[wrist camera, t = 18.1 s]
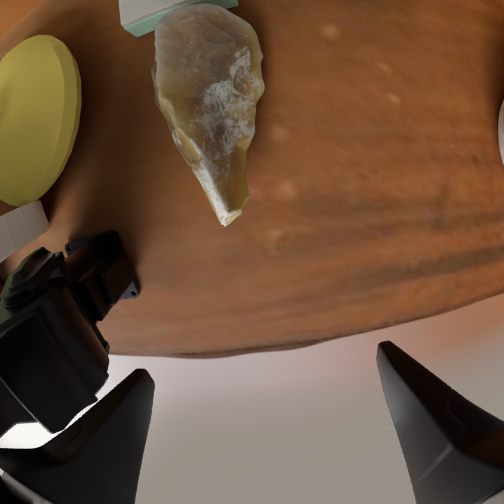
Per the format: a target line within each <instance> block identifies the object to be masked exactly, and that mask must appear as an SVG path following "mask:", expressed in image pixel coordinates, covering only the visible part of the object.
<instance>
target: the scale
mask: <svg viewBox="0 0 504 504" xmlns="http://www.w3.org/2000/svg"><path fill="white" fill-rule="evenodd" d="M207 3H208V4H213V5H218V6H221V7H223V8H225V9H227V8H232V7H237V6H239V4H238V0H119V9H120V18H121V25H122V26H123V27H124V29H125V30H126V31H128V32H130V33H131V34H133V35H135V36H136V37H139V36H142V35H144V34H146V33H149V32H151V31H154V30H155V28H156V26H157V23H158V22H159V21H160V20H161V18H162V17H163V16H164V15H166V14H167V13H168V12H170V11H172V10H174V9H175V8H177V7H182V6H188V5H195V4H207Z"/></svg>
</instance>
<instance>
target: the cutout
mask: <svg viewBox="0 0 504 504" xmlns="http://www.w3.org/2000/svg"><path fill="white" fill-rule="evenodd" d="M49 229H50V226H49V223H48V221H47V218H46V215H45V213H44V210H43V207H42V204H41V201H34V202H31V203H28V204H26V205H23V206H21V207H19V208H17V209H14V210H12V211H10V212H8V213H6V214H4V215H2V216H0V263H1V262H2V261H4V260H5V259H6V258H8V257H9V256H11V255H12V254H14V253H15V252H17V251H18V250H19V249H21V248H22V247H24V246H25V245H27V244H28V243H30V242H31V241H33V240H34V239H36V238H37V237H39V236H40V235H42V234H43V233H45V232H46V231H47V230H49Z"/></svg>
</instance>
